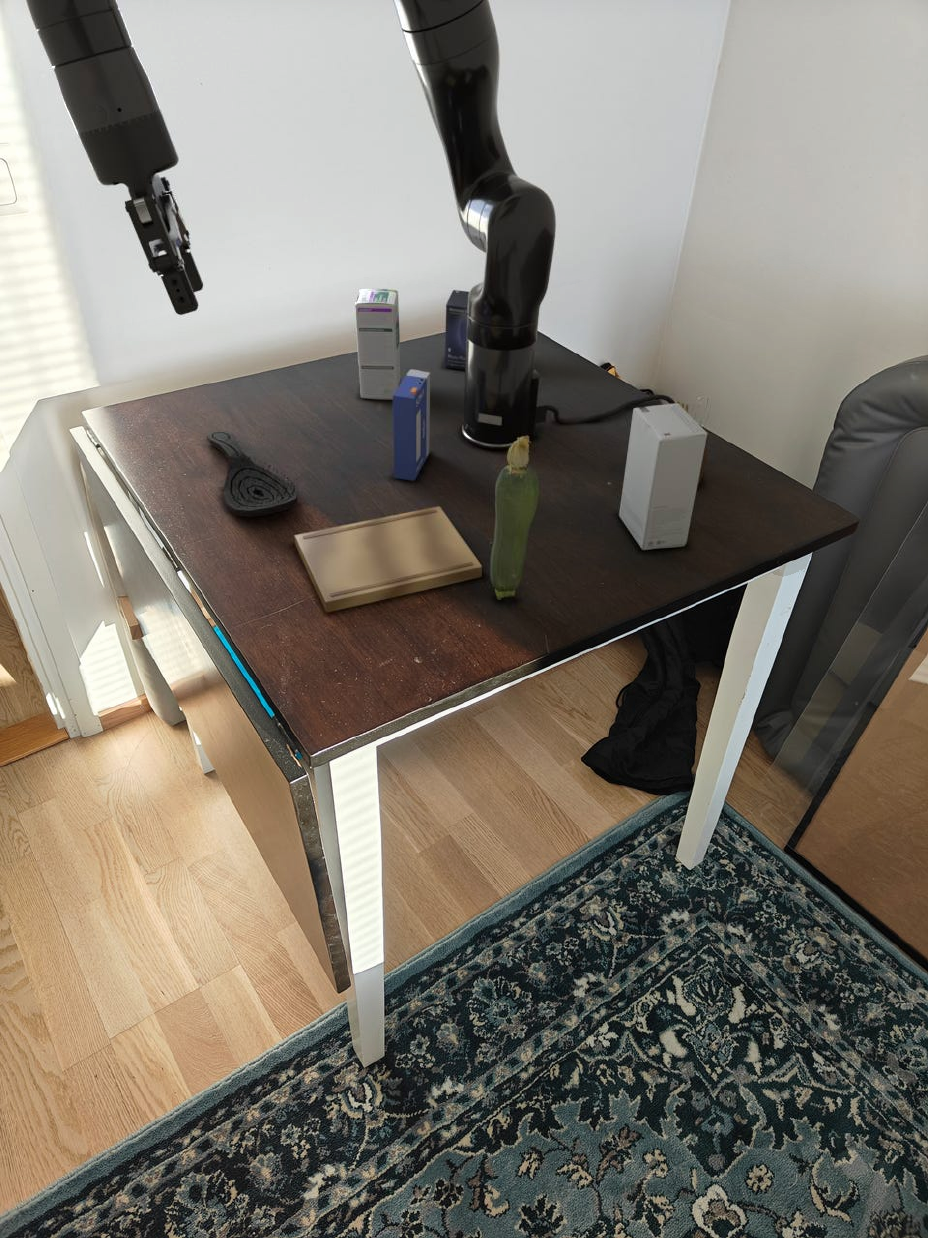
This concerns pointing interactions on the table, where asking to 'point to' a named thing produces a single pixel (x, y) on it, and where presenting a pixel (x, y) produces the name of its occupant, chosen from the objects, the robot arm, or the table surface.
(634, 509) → the cosmetic box
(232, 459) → the hairbrush
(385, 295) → the syrup box
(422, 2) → the robot arm
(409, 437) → the walkman
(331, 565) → the cutting board
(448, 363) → the small box
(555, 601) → the table surface
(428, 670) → the table surface
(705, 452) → the utensil holder
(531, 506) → the vegetable
